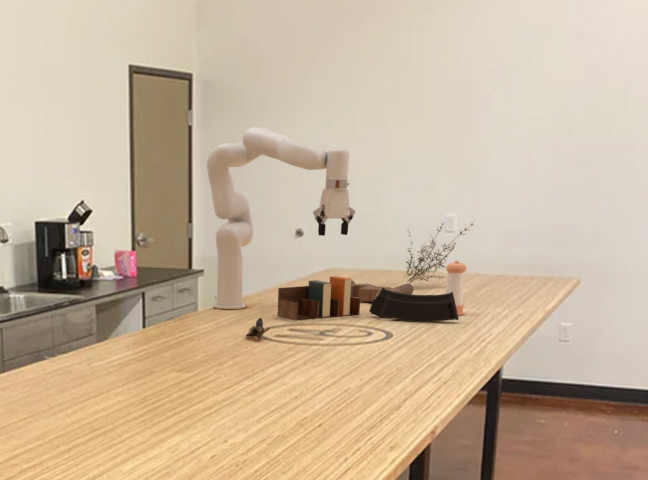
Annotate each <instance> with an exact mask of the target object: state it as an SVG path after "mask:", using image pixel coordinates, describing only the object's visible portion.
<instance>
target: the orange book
mask: <svg viewBox="0 0 648 480" xmlns="http://www.w3.org/2000/svg"><path fill="white" fill-rule="evenodd" d="M351 280H352V278H351V277H344V276H338V275H333V276H331V275H330V276H329V283H331V298H333V299H338V300H340V311H339V315H342V316H344V317H346V316H345V315H349V313H350V294H351Z"/></svg>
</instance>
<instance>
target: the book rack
mask: <svg viewBox="0 0 648 480" xmlns="http://www.w3.org/2000/svg"><path fill="white" fill-rule="evenodd" d="M308 289H309V285H301V286H300V285H299V286H288V287H287V286H286V287H278V289H277V291H278V292H277V317H279V318H283V319H288V320H292V321H295V322H297V321H308V320H310V321H311V320H320V319H321V320H322V319H330V318H331V319H332V318H343V317H354V316H355V317H356V316H360V310H361V309H360V306H361V301H360V298H359V297H351V296H350V313H349V315H345V316H342V315H339V311H340V300H338V299H333V298H331V299H330V317H319V301H314V300H310V299H308Z"/></svg>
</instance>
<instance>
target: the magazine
mask: <svg viewBox="0 0 648 480" xmlns="http://www.w3.org/2000/svg"><path fill="white" fill-rule="evenodd" d="M369 313H370V314H371V315H374V316H376V317H379V318H380V319H381V318H383V319H392V320H394V321H403V322H412V323H413V322H414V323H431V322H444V321H455V320H456V321H459V319H460V318H459V315H458V313H457V309H456V304H455V299H454V295H453V292H451V293H448V294H445V293H443V294H413V293H412V294H404V293H398V292H394V291H391V290H386V289H385V288H382V290H381V292H380V290H379V291H378V293H377V295H376V297H375V299H374V300H373V302H371V305H370V307H369Z"/></svg>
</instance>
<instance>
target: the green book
mask: <svg viewBox="0 0 648 480" xmlns="http://www.w3.org/2000/svg"><path fill="white" fill-rule="evenodd" d="M308 286H309V289H308V299H310V300H314V301H319V317H330V299H331V283H330V281H329V282H328V281H323V280H317V279H315V280H314V279H313V280H308Z"/></svg>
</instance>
